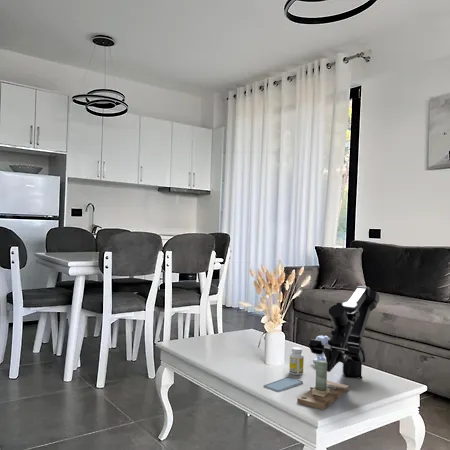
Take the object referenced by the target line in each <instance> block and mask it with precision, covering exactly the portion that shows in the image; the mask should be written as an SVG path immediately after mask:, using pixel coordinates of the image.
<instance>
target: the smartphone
mask: <svg viewBox="0 0 450 450" xmlns="http://www.w3.org/2000/svg"><path fill="white" fill-rule="evenodd" d="M303 384H304V381H303V380H300V379H297V378H293V377H290V376H287V377H284V378H280V379H278V380H275V381H273V382H269V383H267V384H264V385H263V389H267V390H270V391H272V392H277V393H280V392H283V391H287V390H289V389H292V388H296V387H298V386H301V385H303Z"/></svg>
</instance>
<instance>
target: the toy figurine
mask: <svg viewBox="0 0 450 450" xmlns="http://www.w3.org/2000/svg"><path fill="white" fill-rule="evenodd" d="M315 340H320V341H321V343H322V345H324V344H327V345H328V340H330V337H329V336H327V335H323V334H320V335H318V336H316V338H315ZM315 356H316V358H313V360H312V362H313V363H316V361H326V357H325V355H324V353H322V354H320V355H319V354H315Z"/></svg>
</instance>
